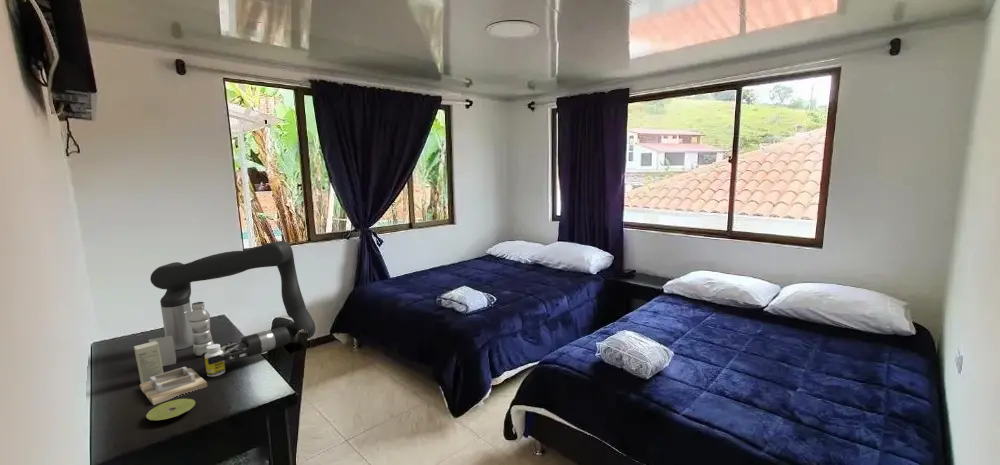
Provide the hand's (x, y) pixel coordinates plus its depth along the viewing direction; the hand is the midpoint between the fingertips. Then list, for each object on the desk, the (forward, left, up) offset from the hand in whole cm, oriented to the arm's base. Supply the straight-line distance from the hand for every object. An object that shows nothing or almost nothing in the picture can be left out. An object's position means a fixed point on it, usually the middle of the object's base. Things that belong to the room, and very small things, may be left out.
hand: (205, 359), depth 148 cm
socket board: (0, -9, -6) cm, 11 cm away
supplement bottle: (0, +3, -6) cm, 7 cm away
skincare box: (-13, -12, -6) cm, 19 cm away
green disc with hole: (+19, -14, -6) cm, 25 cm away
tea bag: (-24, -6, -6) cm, 25 cm away
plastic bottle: (-22, +6, -6) cm, 23 cm away
